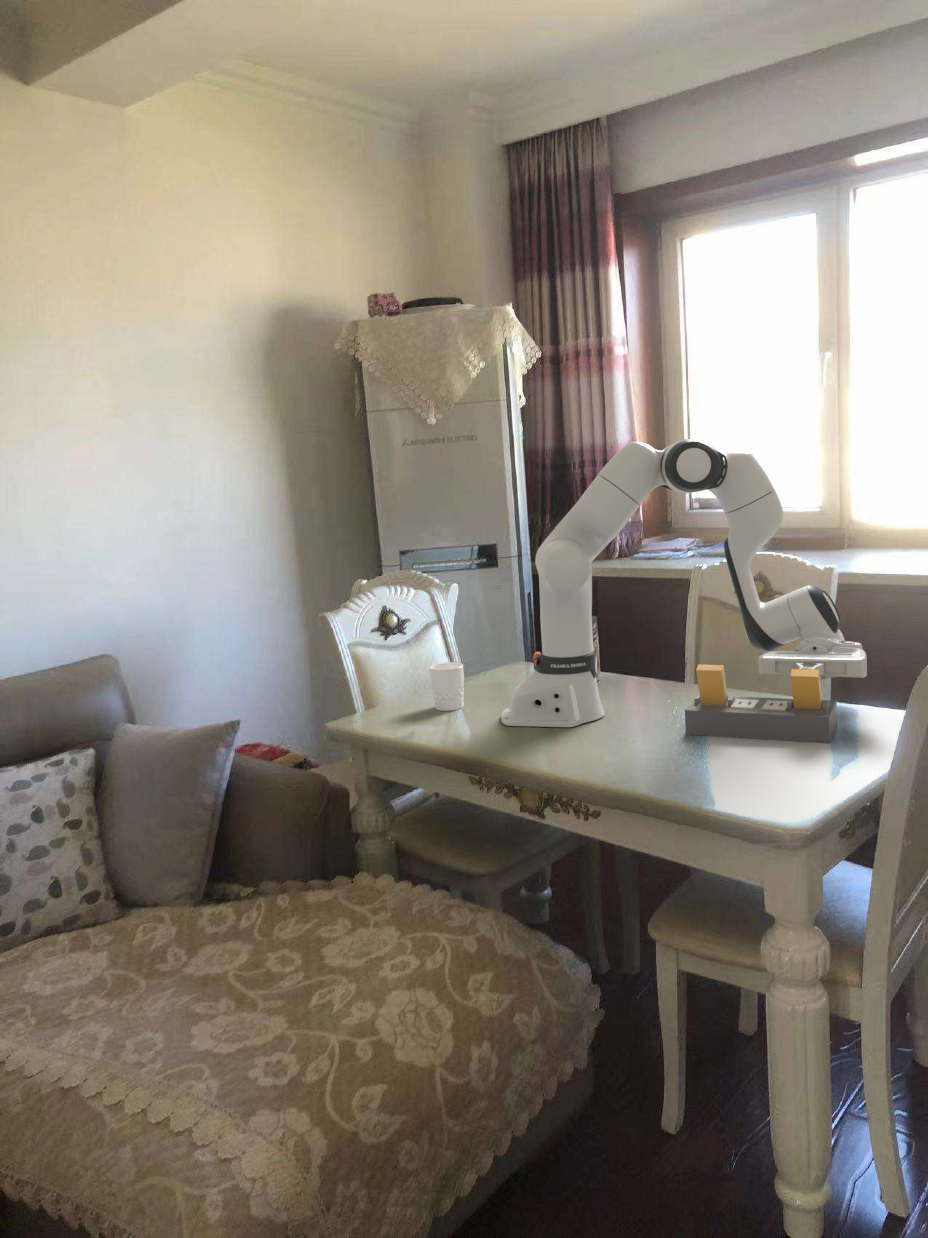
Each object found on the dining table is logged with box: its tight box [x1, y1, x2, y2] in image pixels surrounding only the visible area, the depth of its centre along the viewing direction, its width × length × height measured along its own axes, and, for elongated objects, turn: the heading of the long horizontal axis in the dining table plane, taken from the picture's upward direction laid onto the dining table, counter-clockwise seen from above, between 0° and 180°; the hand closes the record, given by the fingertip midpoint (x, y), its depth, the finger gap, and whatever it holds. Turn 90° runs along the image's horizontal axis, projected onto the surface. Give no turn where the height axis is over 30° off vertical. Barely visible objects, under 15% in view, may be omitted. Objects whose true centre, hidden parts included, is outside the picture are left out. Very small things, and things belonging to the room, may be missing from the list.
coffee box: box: [592, 615, 601, 682], centre depth 245 cm, size 9×6×16 cm
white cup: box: [429, 661, 465, 712], centre depth 232 cm, size 8×8×10 cm
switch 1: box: [695, 664, 729, 704], centre depth 198 cm, size 5×2×8 cm, turn 63°
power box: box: [684, 694, 838, 744], centre depth 196 cm, size 27×12×6 cm, turn 63°
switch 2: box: [789, 669, 823, 709], centre depth 189 cm, size 5×2×8 cm, turn 63°
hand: (806, 673), depth 190 cm, fingers closed
